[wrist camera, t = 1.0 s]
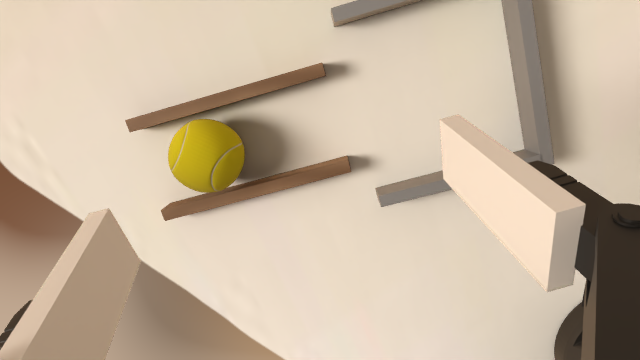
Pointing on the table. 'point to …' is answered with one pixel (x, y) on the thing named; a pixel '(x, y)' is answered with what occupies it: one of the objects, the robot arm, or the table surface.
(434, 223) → the table surface
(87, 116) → the table surface
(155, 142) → the table surface
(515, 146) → the table surface
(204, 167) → the tennis ball
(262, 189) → the chute
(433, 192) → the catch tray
